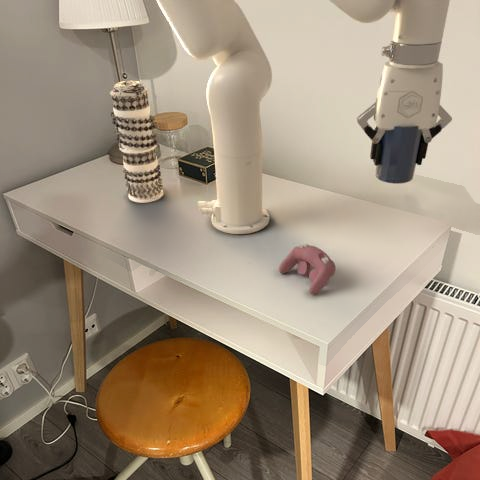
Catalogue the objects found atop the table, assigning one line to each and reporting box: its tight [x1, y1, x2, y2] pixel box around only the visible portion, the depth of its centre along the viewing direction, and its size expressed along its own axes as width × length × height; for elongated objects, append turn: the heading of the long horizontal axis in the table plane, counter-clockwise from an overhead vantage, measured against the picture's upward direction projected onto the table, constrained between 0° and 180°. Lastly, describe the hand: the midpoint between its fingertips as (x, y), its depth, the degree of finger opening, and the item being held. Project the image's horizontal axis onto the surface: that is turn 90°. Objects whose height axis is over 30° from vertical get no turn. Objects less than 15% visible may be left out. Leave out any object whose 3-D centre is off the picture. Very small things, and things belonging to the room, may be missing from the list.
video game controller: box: [278, 243, 337, 296], centre depth 86 cm, size 10×5×7 cm, turn 35°
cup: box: [375, 126, 422, 185], centre depth 87 cm, size 7×7×10 cm
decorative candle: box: [109, 80, 164, 204], centre depth 109 cm, size 9×9×25 cm
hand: (396, 161), depth 89 cm, fingers closed on cup, 6 cm apart
